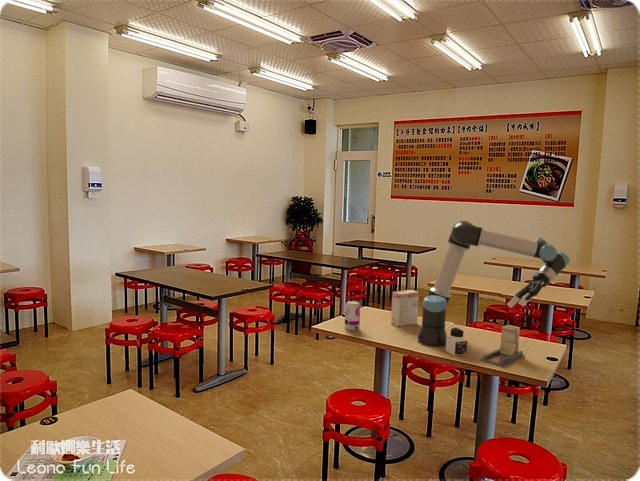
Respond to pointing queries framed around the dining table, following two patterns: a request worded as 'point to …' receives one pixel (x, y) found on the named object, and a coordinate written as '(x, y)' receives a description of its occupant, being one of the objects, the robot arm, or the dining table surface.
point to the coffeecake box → (404, 307)
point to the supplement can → (352, 315)
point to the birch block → (509, 340)
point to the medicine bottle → (456, 342)
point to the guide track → (502, 358)
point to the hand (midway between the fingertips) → (514, 305)
